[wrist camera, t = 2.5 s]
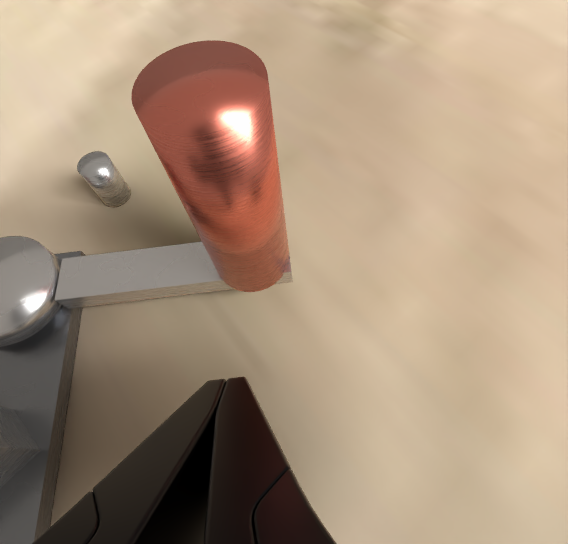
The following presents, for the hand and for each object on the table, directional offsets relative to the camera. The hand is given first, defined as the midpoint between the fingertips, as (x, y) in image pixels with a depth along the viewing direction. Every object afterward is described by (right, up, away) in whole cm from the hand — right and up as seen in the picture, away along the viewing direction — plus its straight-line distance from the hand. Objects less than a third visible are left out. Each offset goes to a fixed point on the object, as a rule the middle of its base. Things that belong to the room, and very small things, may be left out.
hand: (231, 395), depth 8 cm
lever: (-8, +2, +9) cm, 12 cm away
